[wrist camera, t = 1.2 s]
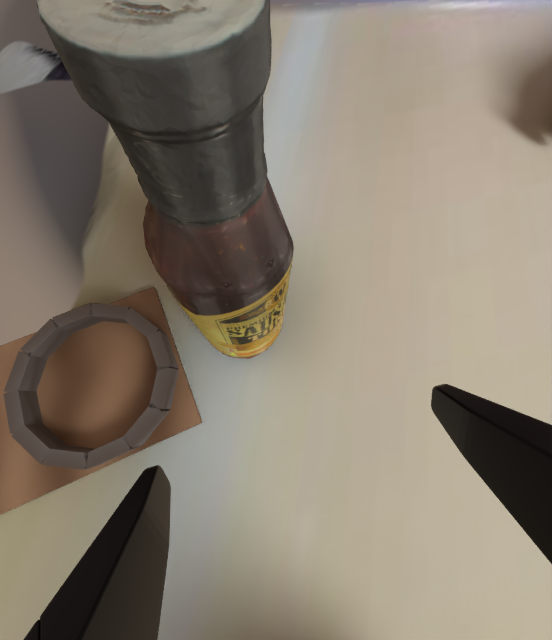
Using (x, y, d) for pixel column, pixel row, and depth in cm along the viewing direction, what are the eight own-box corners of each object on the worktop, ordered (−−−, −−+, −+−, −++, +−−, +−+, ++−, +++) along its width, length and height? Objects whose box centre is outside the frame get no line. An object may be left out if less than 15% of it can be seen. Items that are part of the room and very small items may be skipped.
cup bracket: (-48, 536, 19) (-84, 551, 17) (-64, 373, 22) (-96, 370, 20) (202, 422, 21) (195, 424, 19) (155, 288, 24) (145, 279, 22)
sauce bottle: (251, 376, 22) (126, 224, 3) (192, 331, 23) (-166, 15, 4) (298, 313, 24) (398, -37, 5) (241, 274, 25) (136, -146, 6)
